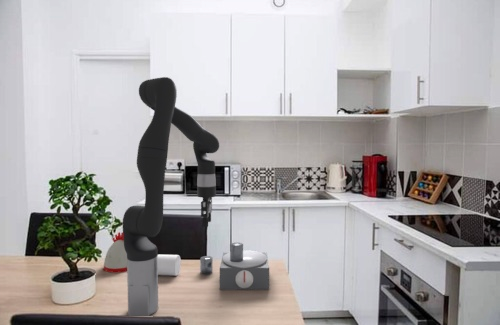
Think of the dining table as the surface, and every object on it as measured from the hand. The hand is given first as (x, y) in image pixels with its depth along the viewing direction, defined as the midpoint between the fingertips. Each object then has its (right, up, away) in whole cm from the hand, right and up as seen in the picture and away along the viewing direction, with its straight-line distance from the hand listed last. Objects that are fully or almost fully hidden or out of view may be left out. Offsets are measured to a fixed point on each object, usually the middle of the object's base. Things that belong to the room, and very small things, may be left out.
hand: (206, 224), depth 134 cm
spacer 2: (+13, -12, -10) cm, 20 cm away
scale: (+16, -21, -7) cm, 27 cm away
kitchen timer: (-38, -20, +8) cm, 44 cm away
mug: (-16, -21, +1) cm, 26 cm away
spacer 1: (0, -20, +1) cm, 20 cm away
